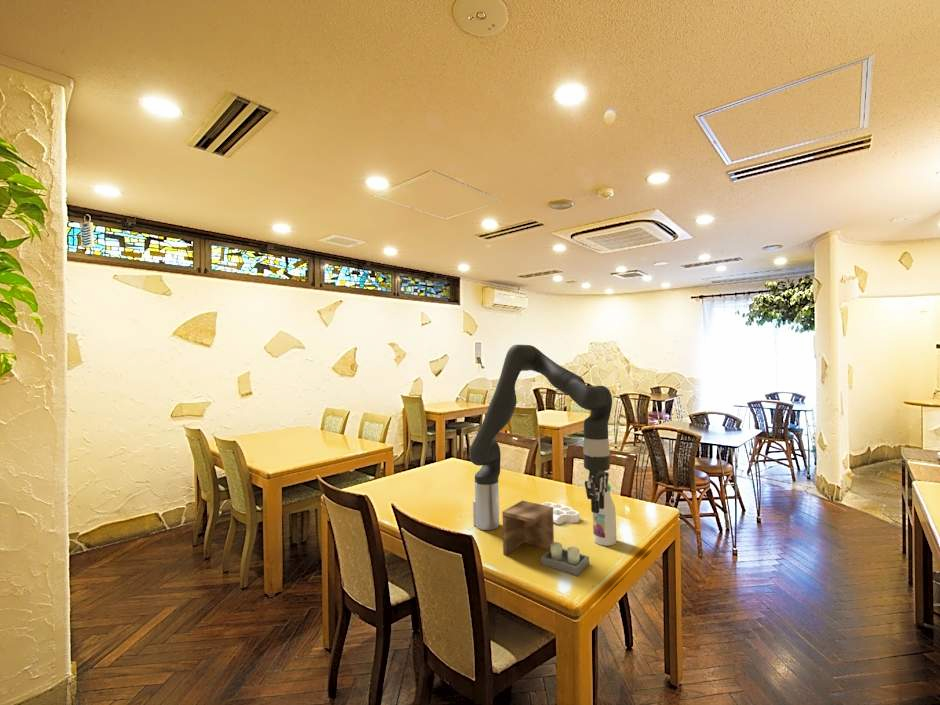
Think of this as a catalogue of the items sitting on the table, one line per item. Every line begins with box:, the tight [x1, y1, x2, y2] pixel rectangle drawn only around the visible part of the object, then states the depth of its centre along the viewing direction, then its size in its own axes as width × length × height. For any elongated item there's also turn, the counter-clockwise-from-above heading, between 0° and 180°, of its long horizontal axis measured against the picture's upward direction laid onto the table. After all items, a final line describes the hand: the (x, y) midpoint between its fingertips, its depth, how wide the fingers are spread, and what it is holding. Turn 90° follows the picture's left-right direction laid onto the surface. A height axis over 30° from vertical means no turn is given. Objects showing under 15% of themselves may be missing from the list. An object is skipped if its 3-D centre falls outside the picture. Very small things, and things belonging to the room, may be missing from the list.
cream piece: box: [566, 546, 581, 566], centre depth 130 cm, size 4×4×5 cm
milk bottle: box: [592, 483, 617, 547], centre depth 147 cm, size 8×8×20 cm
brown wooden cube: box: [502, 500, 555, 556], centre depth 141 cm, size 12×13×14 cm
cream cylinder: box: [550, 541, 563, 562], centre depth 133 cm, size 4×4×5 cm
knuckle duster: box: [540, 501, 580, 525], centre depth 171 cm, size 3×18×15 cm
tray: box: [540, 548, 590, 577], centre depth 131 cm, size 12×9×3 cm
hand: (597, 510), depth 125 cm, fingers open, 3 cm apart
